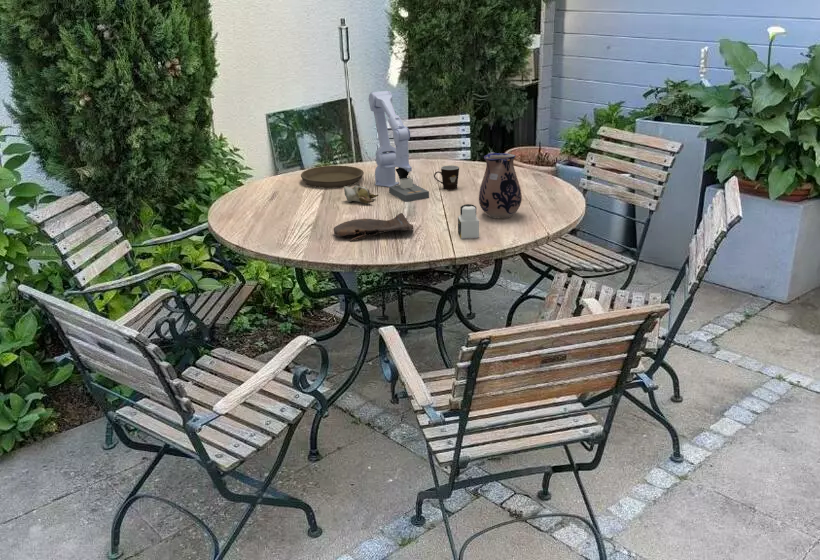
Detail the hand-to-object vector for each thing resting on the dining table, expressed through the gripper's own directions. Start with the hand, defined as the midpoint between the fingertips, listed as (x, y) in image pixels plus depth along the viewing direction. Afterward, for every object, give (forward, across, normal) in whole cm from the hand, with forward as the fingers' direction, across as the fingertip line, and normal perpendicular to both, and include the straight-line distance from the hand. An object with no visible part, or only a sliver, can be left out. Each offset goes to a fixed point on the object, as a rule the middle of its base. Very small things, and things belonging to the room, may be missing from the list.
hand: (403, 183), depth 333 cm
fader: (+1, +3, 0) cm, 4 cm away
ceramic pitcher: (+5, +51, +18) cm, 54 cm away
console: (+4, +5, 0) cm, 7 cm away
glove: (+5, +44, -35) cm, 56 cm away
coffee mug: (+4, +5, +21) cm, 22 cm away
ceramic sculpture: (+5, +3, -23) cm, 24 cm away
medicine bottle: (+5, +67, -6) cm, 67 cm away
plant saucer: (+5, -38, -20) cm, 43 cm away
